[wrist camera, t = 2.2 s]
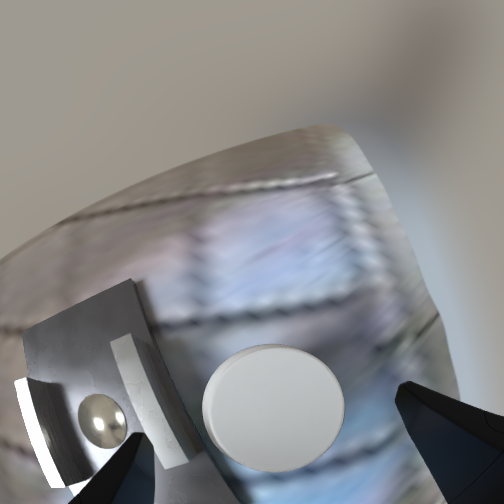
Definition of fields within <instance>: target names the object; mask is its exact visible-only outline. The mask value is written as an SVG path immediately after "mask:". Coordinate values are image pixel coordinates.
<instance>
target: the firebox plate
mask: <svg viewBox="0 0 504 504" xmlns="http://www.w3.org/2000/svg"><path fill="white" fill-rule="evenodd" d="M22 338H23V345H24V352H25V358H26V363H27V368H28V373H29V378H28V377H25V378H22V379H20V380H17V381H15V386H16V390H17V394H18V399H19V403H20V406H21V410H22V414H23V417H24V420H25V424H26V427H27V430H28V433H29V436H30V439H31V441H32V444H33V447H34V449H35V452H36V454H37V457H38V459H39V462H40V464H41V466H42V469H43V471H44V473H45V475H46V477H47V479H48V481H49V483H50V485H51V487H66V486H69V488H70V490H71V491H72V493H73V495H74V497H75V496H76V495H77V494H79V492H80V491H81V490H82V488H83V487H84V486H85V485H86V484H87V483H88V482H89V481H90V480H91V479H92V478H93V476H94V475H95V474H96V473H97V472H98V471H99V470H100V469H101V468H102V467H103V465H104V464H105V463H106V462H107V461H108V460H109V459H110V458H111V456H112V455H113V454H114V453H115V452H116V451H117V450H118V449H119V447H120V446H121V445H122V444H123V443H124V442H125V441H126V440H127V438H128V437H129V436H130V435H131V434H132V433H133V432H144V433H145V434H146V435H147V436H148V438H149V440H150V441H151V443H152V444H153V446H154V459H155V497H154V504H244V503H243V502H242V501H241V499H240V498H239V497H238V495H237V494H236V492H235V491H234V489H233V488H232V487H231V485H230V484H229V482H228V481H227V479H226V478H225V476H224V475H223V473H222V471H221V470H220V468H219V467H218V465H217V464H216V462H215V460H214V459H213V457H212V455H211V454H210V452H209V450H208V449H207V447H206V445H205V443H204V442H203V440H202V438H201V436H200V435H199V433H198V431H197V429H196V427H195V426H194V424H193V422H192V420H191V418H190V416H189V414H188V412H187V410H186V408H185V406H184V404H183V402H182V400H181V398H180V396H179V394H178V392H177V390H176V388H175V386H174V383H173V381H172V379H171V377H170V375H169V372H168V370H167V368H166V366H165V363H164V361H163V359H162V356H161V354H160V351H159V349H158V346H157V344H156V341H155V339H154V336H153V334H152V331H151V328H150V326H149V323H148V320H147V318H146V315H145V312H144V309H143V306H142V303H141V300H140V297H139V294H138V291H137V288H136V285H135V282H134V281H133V280H132V279H131V278H130V279H128V280H126V281H124V282H122V283H120V284H117V285H115V286H113V287H111V288H109V289H107V290H105V291H103V292H101V293H99V294H97V295H95V296H92V297H90V298H88V299H86V300H84V301H82V302H80V303H78V304H76V305H74V306H72V307H70V308H68V309H66V310H64V311H62V312H60V313H58V314H56V315H54V316H52V317H50V318H48V319H46V320H44V321H42V322H40V323H38V324H36V325H34V326H32V327H31V328H29V329H27V330H25V331H23V332H22Z"/></svg>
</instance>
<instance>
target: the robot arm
mask: <svg viewBox="0 0 504 504" xmlns="http://www.w3.org/2000/svg"><path fill="white" fill-rule="evenodd" d="M395 404H396V406H397V408H398V411H399V413H400V415H401V417H402V420H403V422H404V424H405V427H406V429H407V431H408V433H409V435H410V437H411V439H412V441H413V442H414V444H415V446H416V447H417V449H418V451H419V453H420V454H421V456H422V458H423V460H424V461H425V463H426V465H427V467H428V468H429V470H430V472H431V474H432V476H433V477H434V479H435V481H436V483H437V485H438V487H439V488H440V490H441V492H442V494H443V496H444V498H445V500H446V502H447V504H504V416H500V415H497V414H493V413H490V412H488V411H485V410H482V409H479V408H476V407H473V406H471V405H468V404H466V403H463V402H461V401H458V400H455V399H453V398H450V397H448V396H445V395H443V394H440V393H438V392H436V391H433V390H431V389H428V388H426V387H423V386H421V385H419V384H416V383H414V382H412V381H407V382H404V383H402V384H400V385H399V387H398V391H397V394H396V397H395ZM154 497H155V459H154V446H153V444H152V443H151V441H150V440H149V438H148V436H147V435H146V434H145V433H144V432H133V433H132V434H131V435H130V436H129V437H128V438H127V440H126V441H125V442H124V443H123V444H122V445H121V446H120V447H119V449H118V450H117V451H116V452H115V453H114V454H113V455H112V456H111V458H110V459H109V460H108V461H107V462H106V463H105V464H104V465H103V467H102V468H101V469H100V470H99V471H98V472H97V473H96V474H95V475H94V476H93V478H92V479H91V480H90V481H89V482H88V483H87V484H86V485H85V486H84V487H83V488H82V490H81V491H80V492H79V494H77V495H76V496H75V497H74V498H73V499H72V500H71V501H70V502H69V503H68V504H154Z"/></svg>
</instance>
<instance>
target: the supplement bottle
mask: <svg viewBox="0 0 504 504" xmlns="http://www.w3.org/2000/svg"><path fill="white" fill-rule="evenodd" d="M202 413H203V420H204V423H205V427H206V429H207V432H208V434H209V436H210V438H211V440H212V441H213V443H214V444H215V445H216V446H217V448H218V449H219V450H220V451H221V452H222V453H224V454H225V455H226V456H227V457H229V458H230V459H232V460H233V461H235V462H237V463H239V464H241V465H244V466H246V467H249V468H251V469H254V470H258V471H263V472H286V471H291V470H295V469H298V468H301V467H303V466H306V465H308V464H309V463H311V462H313V461H314V460H316V459H317V458H319V457H320V456H321V455H323V454H324V453H325V452H326V451H327V450H328V449H329V448H330V446H331V445H332V444H333V442H334V441H335V439H336V437H337V436H338V434H339V432H340V429H341V427H342V424H343V419H344V413H345V403H344V396H343V392H342V389H341V386H340V384H339V382H338V380H337V378H336V376H335V375H334V374H333V372H332V371H331V370H330V369H329V368H328V366H327V365H325V364H324V363H323V362H322V361H320V360H319V359H318V358H316V357H315V356H313V355H311V354H309V353H307V352H305V351H302V350H300V349H298V348H295V347H292V346H287V345H281V344H263V345H257V346H253V347H250V348H246V349H244V350H241V351H239V352H237V353H235V354H234V355H232V356H231V357H229V358H228V359H227V360H225V361H224V362H223V363H222V364H221V365H220V366H219V367H218V368H217V369H216V371H215V372H214V373H213V375H212V376H211V378H210V380H209V382H208V384H207V386H206V389H205V392H204V396H203V402H202Z"/></svg>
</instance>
